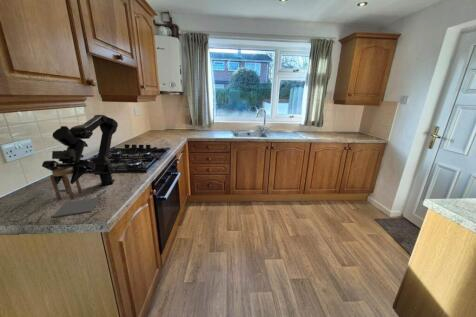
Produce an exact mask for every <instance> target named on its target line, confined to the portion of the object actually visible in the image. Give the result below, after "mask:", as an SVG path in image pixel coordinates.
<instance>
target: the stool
mask: <svg viewBox="0 0 476 317" xmlns="http://www.w3.org/2000/svg"><path fill="white" fill-rule="evenodd" d="M73 171H74V169H73V167H63V168H58V169H55V170H53V171H51V173H52V175H50V176H49V178H50V181H51V183H52V187H53V190H54V192H55V193H54V194H55V196H56V198H57V201H61V200H62V196H61V193H66V195H69V198H70V201H74V200H75V196H74V193H73V190H72V186H71V183H70V180H69V177H68V175H69V174H71V173H72V174H73ZM54 176H61V177H62V178H61V180H62V184H63V185H64V186H63V187H64V189H59V187H58V185H57V184H56V181H55V178H54ZM79 179H80V178H78V179H77V180H76V181H75V182H74V183H75V185H76V187H77V191H78V194H80V195H82V194H83V190H82V187H81V184H80V180H79Z"/></svg>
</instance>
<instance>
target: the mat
mask: <svg viewBox="0 0 476 317" xmlns="http://www.w3.org/2000/svg"><path fill="white" fill-rule="evenodd" d="M99 200H100V197H94V198H85V199H78V200H70V201H65V202H64V203H63V204H62V206H61V207H60V208H58V210H57V211H56V212H55V213H54V214H53V215H52V218H58V217H65V216H71V215H79V214H85V213H91V212H93V209H94V208H95V207H96V204H97V203H98V202H99Z"/></svg>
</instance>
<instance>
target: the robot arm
mask: <svg viewBox="0 0 476 317" xmlns="http://www.w3.org/2000/svg"><path fill="white" fill-rule="evenodd" d="M118 126H119V123H118V122H117V121H116V120H115V119H114V118H111V117H108V116H107V115H104V114H95V115H94V116H93V117H91V118H90V119H89V120H87V121H86V122H84V123H83V124H80V125H78V124H77V125H75V126H72V127H70V128H69V127H68V126H67V125H61V126H60V128H58V129H56V130H55V131H53V132H52V138H53V139H55V141H57V142H59V143H60V144H61V145H63V146H65V147H67V148H66V149H64V150H52V151H51V152H52V153H51V154H52V155H51V159H52V160H44V161H43V162H42V164H41V167H43V168H44V169H46V170H49V171H51V172H52V171H53V170H55V169H58V168H63V167H72V170H74V171H73V172H72V175H71V178H70V181H69V183H70V185H74V184H75V183H76V182H75V181H76V180H77V179H80V178H81V177H82V176H83V175H85V173H88V172H89V171H92V173H93V175H94V176H99V180H100V183H99V184H98V186H99V187H102V186H104V187H105V186H111V185H113V184H114V183H115V181H116V179H115V178H114V179H113V174H115V171H116V169H115V167H114V166H113V165H112V163H111V160H110V158H109V156H110V150H111V144H112V139H113V134H115V133H116V132H117V128H118ZM97 128H99V129H100V131H101V138H100V144H99V149H98V155H97V156H96V157H93V158H92V161H91V160H90V159H83V158H84V154H83V151H84V149H85V148H88V147H89V144H88V143H87V142H86V141H85V140H88V139H91V137H92V136H93V134H94V133H93V131H94V130H96V129H97ZM55 159H56V160H58V161H56V160H55ZM54 178H55V181H56V184H57V186H58V185H59V184H60V182H61V180H62V177H61V176H54Z"/></svg>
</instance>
